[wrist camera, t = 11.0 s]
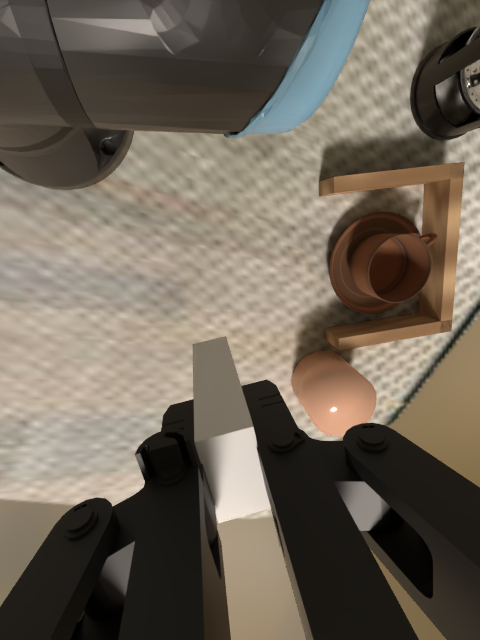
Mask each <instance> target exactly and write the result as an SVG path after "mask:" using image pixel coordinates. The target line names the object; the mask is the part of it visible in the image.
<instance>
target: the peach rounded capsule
mask: <svg viewBox="0 0 480 640" xmlns="http://www.w3.org/2000/svg"><path fill="white" fill-rule="evenodd" d="M291 384H292V389H293V391H294V393H295V395H296V397H297V398H298V400H299V401H300V403H301V405H302V406H303V408H304V409H305V411H306V413H307V414H308V416H309V417H310V419H311V421H312V422H313V424H314V425H315V427H316V428H317V429H318V430H320V431H321V432H323V433H325V434H327V435H331V436H344V435H345V433H346V431H347V430H348V429H350V428H351V427H352V426H355V425H358V424H361V423H367V422H368V420H369V419H370V418H371V416H372V414H373V412H374V410H375V407H376V392H375V389H374V387H373V385H372V384H371V383H370V382H369V381H368V380H367V379H366V378H365V377H364V376H363V375H361V374H360V373H359V372H358V371H357V370H356V369H354V368H353V367H352V366H351V365H350V364H349V363H347V362H346V361H345V360H344V359H343V358H342V357H340V356H339V355H338V354H336V353H334V352H331V351H317V352H314V353H311V354H309V355H307V356H306V357H304V358H303V359H302V360H301V361H300V362H299V363H298V364H297V366H296V367H295V369H294V371H293V374H292V380H291Z"/></svg>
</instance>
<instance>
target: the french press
mask: <svg viewBox="0 0 480 640" xmlns="http://www.w3.org/2000/svg"><path fill="white" fill-rule="evenodd" d="M451 55H452V56H451ZM447 56H450V57H449V58H447V59H446V60H444V61H443V62H441V63H440V61H441V60H442V59H443V58H445V57H447ZM456 73H457V78H458V86H459V90H460V93H461V96H462V98H463V101H464V102H465V104H466V105H467V107H468V108H469V109H470V110H471V111H472V112H471V114H470V115H469V116H468V117H467V118H466V119H465V120H464V121H463V122H462V123H460V124H458V125H454V124H452V123H451V122H450V121H448V120H447V119H446V118H445V116H444V115H443V113H442V112H441V110H440V108H439V105H438V102H437V98H436V89H435V85H437V84H439V83H440V82H442V81H444V80H445V79H447V78H449V77H451V76H452V75H454V74H456ZM410 100H411V110H412V113H413V117H414V119H415V121H416V124H417V125H418V126H419V128H420V129H421V131H423V132H424V133H425V134H426V135H427V136H429V137H431V138H433V139H438V140H451V139H454V138H458V137H460V136H462V135H463V134H465V133H467V132H469V131H471V130H474V129H477V128H480V25H479V26H477V27H473V28H469V29H467V30H465V31H463V32H461V33H460V34H458V35H457V36H456V37H454V38H453V39H451V40H450V41H449V42H446V43H444V44H442V45H440V46H438V47H437V48H435V49H434V50H433V51H431V52H430V53H429V54H428V55H427V56H426V58H425V59H424V60H423V61H422V63H421V64H420V66H419V68H418V69H417V72H416V74H415V77H414V79H413V83H412V87H411V97H410Z"/></svg>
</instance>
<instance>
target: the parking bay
mask: <svg viewBox="0 0 480 640" xmlns="http://www.w3.org/2000/svg"><path fill="white" fill-rule="evenodd" d="M464 163H465V162H460V163H451V164H442V165H433V166H425V167H416V168H407V169H398V170H389V171H381V172H372V173H363V174H354V175H345V176H337V177H332V178H329V179H326V180H324V181H321V182H319V196H326V195H335V194H343V193H351V192H360V191H368V190H376V189H385V188H393V187H401V186H410V185H418V184H424V205H423V227H422V235H425V234H429V233H435V234H437V236H438V237H437V240H436V241H435V242H434V243H433V244H431V245H430V246H429V250H430V252H431V256H432V269H431V274H430V277H429V279H428V281H427V283H426V285H425V286H424V287H423V289H422V290H421V291H420V292H419V313H415V314H409V315H403V316H397V317H391V318H385V319H379V320H373V321H367V322H361V323H355V324H349V325H343V326H337V327H331V328H325V335H326V340H327V341H328V342H330V343H331V344H332V345H333V346H334V347H336V348H337V349H338V350H339V351H340V350H345V349H351V348H357V347H362V346H368V345H374V344H380V343H385V342H391V341H397V340H403V339H408V338H414V337H420V336H425V335H431V334H437V333H443V332H448V331H451V328H452V316H453V303H454V290H455V277H456V265H457V252H458V239H459V226H460V214H461V201H462V188H463V175H464ZM430 239H431V238H428V239H424V240H423V241H424V242H425V243H426V242H427V241H429V240H430Z"/></svg>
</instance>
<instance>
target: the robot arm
mask: <svg viewBox="0 0 480 640" xmlns="http://www.w3.org/2000/svg"><path fill="white" fill-rule="evenodd" d="M369 2H370V0H0V168H2V169H3V170H5V171H6V172H8V173H10V174H11V175H13V176H15V177H17V178H19V179H22V180H24V181H26V182H29V183H32V184H36V185H39V186H43V187H47V188H52V189H59V190H72V189H80V188H84V187H88V186H91V185H93V184H96V183H98V182H100V181H101V180H103V179H105V178H106V177H107V176H109V175H110V174H111V173H112V172H113V171H114V170H115V169H116V168H117V167H118V166H119V165H120V163H121V162H122V161H123V159H124V157H125V156H126V154H127V152H128V150H129V147H130V145H131V142H132V138H133V134H134V130H136V131H161V132H186V133H212V134H224V136H225V137H227V138H239V137H242V136H244V135H246V134H282V133H286V132H289V131H291V130H293V129H294V128H295V127H296V126H299V125H300V124H301V123H303V122H305V121H306V120H308V119H309V118H310V117H311V116H312V115H313V113H314V112H315V111H316V110H317V109H318V108H319V106H320V105H321V104H322V102H323V101H324V100H325V98H326V97H327V95H328V93H329V92H330V90H331V89H332V87H333V85H334V84H335V82H336V80H337V78H338V76H339V74H340V72H341V70H342V68H343V66H344V64H345V62H346V60H347V58H348V56H349V53H350V51H351V49H352V47H353V45H354V42H355V40H356V37H357V35H358V32H359V30H360V27H361V25H362V22H363V19H364V17H365V14H366V11H367V8H368V5H369ZM193 392H194V399H193V400H189V401H185V402H181V403H177V404H174V405H170V407H169V408H168V409H167V411H166V412H165V414H164V415H163V422H162V429H161V432H158V433H156V434H154V435H152V436H151V437H149V438H148V439H146V440H145V441H144V442H143V443H142V444H141V445H140V446H139V447H138V449H137V451H136V453H135V456H136V459H137V461H138V464H139V467H140V469H141V472H142V475H143V477H144V480H145V485H144V488H143V489H141V490H140V491H139V492H138V493H136V494H135V495H133V496H131V497H130V498H128V499H126V500H124V501H122V502H120V503H119V504H117V505H115V506H113V507H112V504H111V503H110V502H109V501H108V500H107V499H104V498H93V499H89V500H86V501H84V502H82V503H80V504H78V505H76V506H74V507H73V508H72V509H70V510H69V511H68V512H67V513H65V515H63V516H62V517H61V519H60V520H59V521H58V522H57V523H56V524H55V526H54V527H53V529H52V530H51V532H50V533H49V535H48V537H47V538H46V539H45V541H44V542H43V544H42V545H41V547H40V548H39V550H38V551H37V553H36V554H35V556H34V557H33V559H32V560H31V562H30V563H29V565H28V566H27V568H26V569H25V571H24V572H23V574H22V575H21V577H20V578H19V580H18V581H17V583H16V584H15V586H14V587H13V589H12V590H11V592H10V593H9V595H8V596H7V598H6V599H5V601H4V602H3V604H2V605H1V607H0V640H231V636H230V627H229V617H228V606H227V596H226V586H225V576H224V566H223V556H222V545H221V540H220V537H219V534H218V530H217V523H216V516H217V520H218V523H221V522H224V521H228V520H231V519H235V518H238V517H242V516H245V515H249V514H252V513H256V512H259V511H263V510H266V509H270V508H271V510H272V514H273V518H274V523H275V527H276V532H277V536H278V541H279V545H280V547H281V549H282V553H283V556H284V560H285V564H286V567H287V571H288V574H289V578H290V582H291V586H292V589H293V593H294V596H295V600H296V604H297V607H298V611H299V615H300V618H301V622H302V625H303V629H304V632H305V636H306V640H419V639H418V637H417V635H416V634H415V632H414V630H413V628H412V626H411V624H410V623H409V621H408V619H407V617H406V615H405V613H404V612H403V610H402V608H401V606H400V604H399V602H398V600H397V598H396V597H395V595H394V593H393V591H392V589H391V588H390V586H389V584H388V582H387V580H386V578H385V576H384V575H383V573H382V571H381V569H380V567H379V565H378V563H377V562H376V560H375V558H374V556H373V554H372V552H371V551H370V549H371V550H372V551H373V553H374V554H375V555H376V556H377V557H378V558H379V560H380V561H381V562H382V563H383V564H384V566H385V567H386V568H387V569H388V570H389V572H390V573H391V574H392V575H393V576H394V577H395V579H396V580H397V581H398V582H399V583H400V585H401V586H402V587H403V588H404V589H405V590H406V592H407V593H408V594H409V595H410V597H411V598H412V599H413V600H414V601H415V602H416V604H417V605H418V606H419V607H420V608H421V610H422V611H423V612H424V613H425V614H426V616H427V617H428V618H429V619H430V620H431V621H432V623H433V624H434V625H435V626H436V627H437V629H438V630H439V631H440V632H441V633H442V634H443V636H444V637H445V638H446V639H447V640H480V488H479V487H478V486H476V485H475V484H474V483H472V482H471V481H469V480H467V479H466V478H464V477H463V476H462V475H460V474H459V473H457V472H456V471H454V470H453V469H451V468H450V467H448V466H447V465H445V464H444V463H442V462H441V461H439V460H438V459H436V458H435V457H433V456H432V455H430V454H429V453H427V452H426V451H424V450H423V449H421V448H420V447H418V446H417V445H416V444H414V443H413V442H411V441H410V440H408V439H407V438H405V437H404V436H402V435H401V434H399V433H397V432H396V431H395V430H393V429H391V428H389V427H387V426H385V425H381V424H376V423H361V424H358V425H355V426H352V427H351V428H350V429H348V430H347V431H346V433H345V435H344V437H343V441H320V440H316V439H312V438H310V437H309V436H308V435H307V434H306V433H305V432H304V431H303V430H300V429H299V428H298V427H297V425H296V423H295V421H294V419H293V417H292V415H291V413H290V411H289V409H288V407H287V406H286V404H285V402H284V400H283V398H282V396H281V395H280V392H279V390H278V388H277V386H276V385H275V384H273V383H271V382H270V381H268V380H263V381H259V382H255V383H252V384H248V385H244V386H241V384H240V381H239V377H238V374H237V371H236V368H235V364H234V361H233V358H232V355H231V351H230V348H229V345H228V342H227V338H226V336H225V337H221V338H217V339H213V340H209V341H205V342H200V343H196V344H193ZM369 548H370V549H369Z"/></svg>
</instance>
